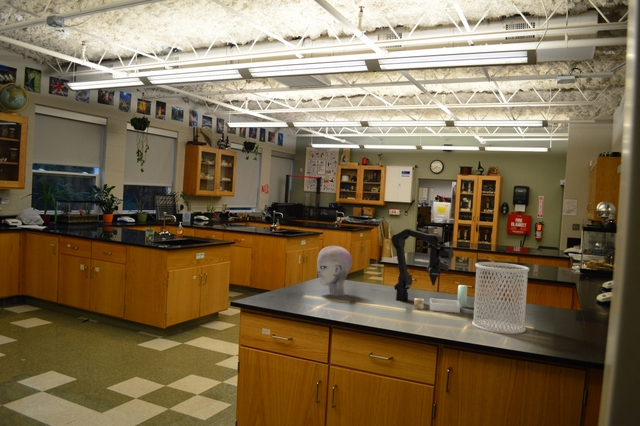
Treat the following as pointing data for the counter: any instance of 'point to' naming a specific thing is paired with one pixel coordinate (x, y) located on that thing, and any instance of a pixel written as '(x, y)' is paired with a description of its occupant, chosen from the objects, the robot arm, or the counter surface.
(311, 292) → the counter surface
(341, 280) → the sculpture
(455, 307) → the tote
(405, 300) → the robot arm
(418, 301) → the cube
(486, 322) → the wastebasket
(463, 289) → the canister
